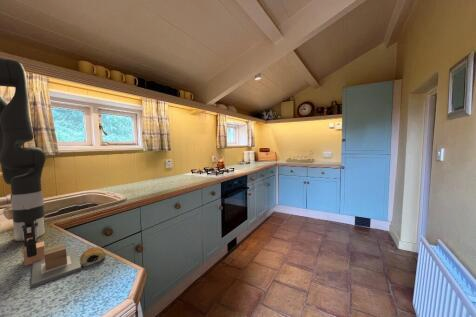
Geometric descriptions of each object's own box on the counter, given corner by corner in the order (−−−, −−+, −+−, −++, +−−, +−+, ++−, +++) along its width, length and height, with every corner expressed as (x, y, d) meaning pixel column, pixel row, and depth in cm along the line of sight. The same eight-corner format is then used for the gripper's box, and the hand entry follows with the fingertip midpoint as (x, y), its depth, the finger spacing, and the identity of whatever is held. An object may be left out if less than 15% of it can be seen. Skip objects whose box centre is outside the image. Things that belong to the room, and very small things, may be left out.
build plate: (33, 264, 66) (32, 261, 66) (75, 251, 74) (75, 248, 74) (31, 288, 55) (31, 284, 55) (81, 269, 63) (81, 266, 62)
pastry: (80, 256, 71) (80, 246, 71) (103, 250, 75) (102, 240, 75) (80, 268, 63) (79, 257, 63) (105, 261, 68) (105, 250, 67)
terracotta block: (25, 260, 69) (24, 246, 69) (45, 254, 73) (44, 241, 73) (24, 265, 66) (23, 251, 65) (45, 259, 69) (44, 245, 69)
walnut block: (45, 264, 64) (44, 249, 64) (65, 257, 68) (64, 243, 68) (45, 270, 61) (44, 254, 60) (67, 263, 64) (65, 248, 64)
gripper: (14, 204, 70) (18, 249, 71) (8, 212, 60) (14, 264, 61) (44, 200, 75) (47, 241, 76) (43, 206, 65) (47, 254, 66)
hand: (32, 251), depth 68 cm, fingers open, 8 cm apart
